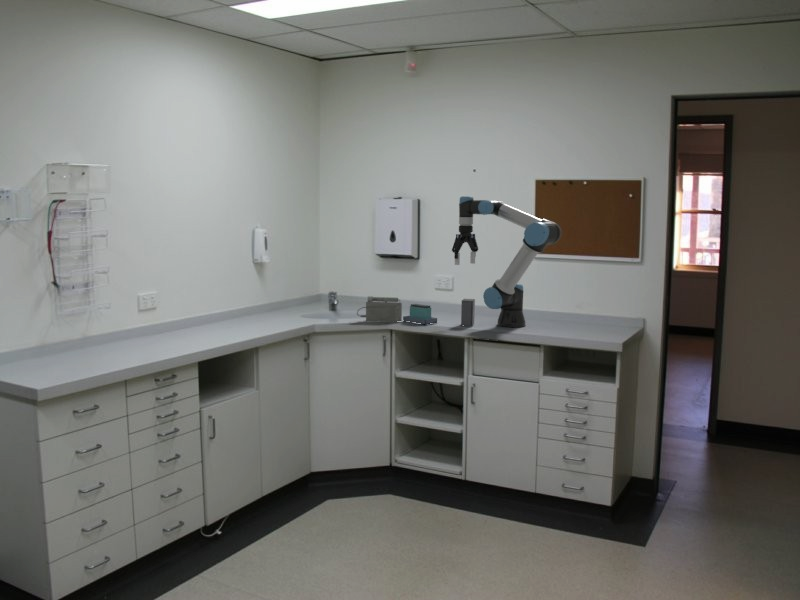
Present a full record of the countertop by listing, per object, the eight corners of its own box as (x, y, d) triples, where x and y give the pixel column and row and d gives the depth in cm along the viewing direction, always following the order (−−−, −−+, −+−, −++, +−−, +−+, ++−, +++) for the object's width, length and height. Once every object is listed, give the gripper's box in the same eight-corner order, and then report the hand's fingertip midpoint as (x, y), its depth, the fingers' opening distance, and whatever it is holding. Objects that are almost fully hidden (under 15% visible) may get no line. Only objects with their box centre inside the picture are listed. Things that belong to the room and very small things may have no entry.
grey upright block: (474, 324, 409) (474, 299, 407) (472, 326, 401) (472, 300, 399) (463, 324, 410) (463, 298, 408) (461, 326, 403) (461, 300, 401)
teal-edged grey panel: (431, 322, 411) (431, 305, 410) (425, 322, 407) (425, 306, 406) (415, 319, 419) (415, 303, 418) (409, 320, 416) (409, 304, 415)
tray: (437, 323, 411) (437, 318, 411) (425, 325, 404) (425, 319, 404) (414, 319, 423) (414, 314, 422) (403, 321, 416) (403, 316, 415)
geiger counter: (402, 296, 416) (357, 295, 418) (401, 297, 409) (356, 296, 412) (402, 321, 417) (357, 320, 420) (400, 323, 411) (355, 321, 414)
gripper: (474, 224, 417) (473, 262, 420) (445, 225, 399) (444, 264, 402) (485, 224, 412) (484, 263, 415) (456, 225, 394) (455, 265, 397)
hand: (464, 264), depth 408 cm, fingers open, 13 cm apart
